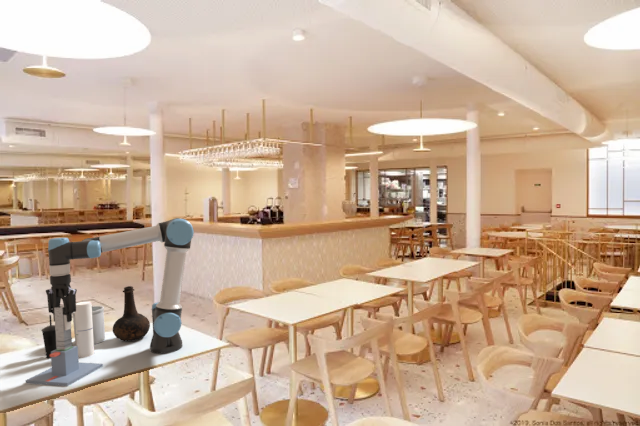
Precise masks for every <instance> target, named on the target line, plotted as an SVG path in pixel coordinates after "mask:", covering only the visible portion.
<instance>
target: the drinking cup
mask: <svg viewBox="0 0 640 426" xmlns="http://www.w3.org/2000/svg"><path fill="white" fill-rule="evenodd" d="M48 317H49V325H47V326H44V328H43V327H42V329H40V330H41V332H42V337H43V338H42V339H43V344H44V352H45V356H46V357H45V358H46V359H51V357H50V354H51V351H53V350H56V349H57V347H56V330H55V324H53V323H52V314H49V315H48Z"/></svg>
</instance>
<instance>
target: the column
mask: <svg viewBox="0 0 640 426" xmlns="http://www.w3.org/2000/svg"><path fill="white" fill-rule="evenodd" d="M54 312H55V322H54V325H55V330H56V347H57V349H56V351H67V350H69V349H71V348H73V342H72V341H73V340H72V339H73V338H72V337H73V336H72V328H71V329H68V330H65V323H64V314H66V313H65V309H64V304H60V306H58V307H55V308H54Z"/></svg>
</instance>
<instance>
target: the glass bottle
mask: <svg viewBox="0 0 640 426" xmlns="http://www.w3.org/2000/svg"><path fill="white" fill-rule="evenodd" d="M134 291H135V289H134V287H133V286H131V285H130V286H129V285H128V286H125V287H123V290H122V293H123V294H124V303H123V304H124V305H123V307H124V308H123V313H122V316H121V317H119V318H118V319H117V320H116V321H115V322H114V324H113V326H112V332H113V335H114V336H115V338H116V339H118V340H120V341H122V342H133V341H138V340H140V339H143V338H144V337H145V336H146V335H147V334H148V333H149V331H150V329H151V328H150V327H151V323H150V320H149V319H148V318H147V316H145V315H143V314H142V313H139V312H138V310H137V307H136V302H135V296H134Z"/></svg>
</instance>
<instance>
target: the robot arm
mask: <svg viewBox="0 0 640 426" xmlns="http://www.w3.org/2000/svg"><path fill="white" fill-rule="evenodd" d="M194 233H195V232H194V227H193V225H192V223H191V222H190V221H189V220H187V219H185V218H181V217H175V218H172V219H168V220H165V221H162V222H158V223H157V224H156V225H154V226H148V227H142V228H137V229H132V230H127V231H122V232H117V233H116V232H115V233H111V234H105V235H100V236H96V237H95V236H94V237H87V238H84V239H83V240H81V241H70V239H69V238H68V237H54V238H50V239H49V240H48V241H47V242H48V243H47V244H48V245H47V246H48V248H47V252H48V253H47V254H48V264H49V265H48V266H49V275H50V276H49V282H50V283H49V284H50V285H51V287H50V288H49V289H45V293H46V295H47V296H46V297H47V308H48V313H49V314H50V313H51V315H52V316H53V322H54V323H55V312H54V308H55V307H58V306H61V301H62V303H63V304H62V305H64V309H65V313H66V314H64V323H65V330H68V329H71V330H72V321H73V315H72V313H73V312H76V303H77V297H76V295H77V288H74V289H73V288H72V286H71V282H72V279H71V278H72V276H71V260H81V259H85V260H86V259H95V258H100V257H101V255H102V253H107V252H111V251H116V250H121V249H126V248H133V247H135V246H142V245H146V244H150V243H151V244H152V243H156V242H160V243H163V247H164V248H165V249H166V255H165V263H164V264H165V265H164V270H163V276H162V277H163V278H162V284H161V292H160V298H159V299H160V300H159V302H155V303H152V304H151V316H152V337H151V341H150V345H149V352H151V353H153V354H167V353H173V352H175V351H179V350H181V349H182V348H183V345H184V344H183V340H182V337H181V335H180V330H181V327H182V323H183V322H182V311H183V306H182V304H181V303H180V302H181V295H182V293H181V292H182V286H183V279H184V273H185V272H184V271H185V265H186V263H185V262H186V256H187V252H188V251H190V250H191V245H192V239H193V237H194Z"/></svg>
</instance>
